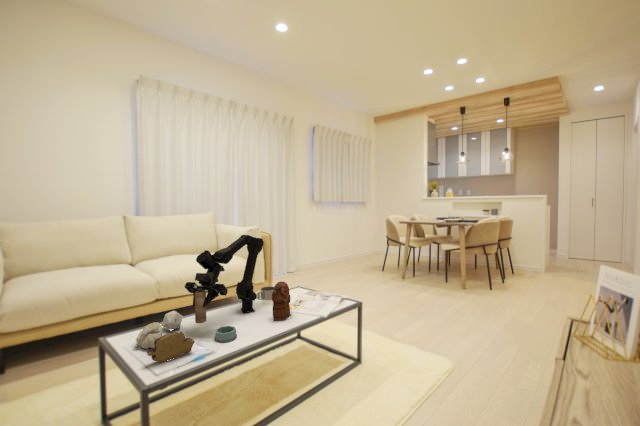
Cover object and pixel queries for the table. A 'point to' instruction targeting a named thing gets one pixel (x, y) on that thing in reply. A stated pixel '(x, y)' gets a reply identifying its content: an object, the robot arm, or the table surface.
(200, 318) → the walnut peg
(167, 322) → the die
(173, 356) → the wooden carving
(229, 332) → the teal bowl
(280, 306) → the wooden figurine
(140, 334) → the fossil replica
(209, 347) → the table surface
